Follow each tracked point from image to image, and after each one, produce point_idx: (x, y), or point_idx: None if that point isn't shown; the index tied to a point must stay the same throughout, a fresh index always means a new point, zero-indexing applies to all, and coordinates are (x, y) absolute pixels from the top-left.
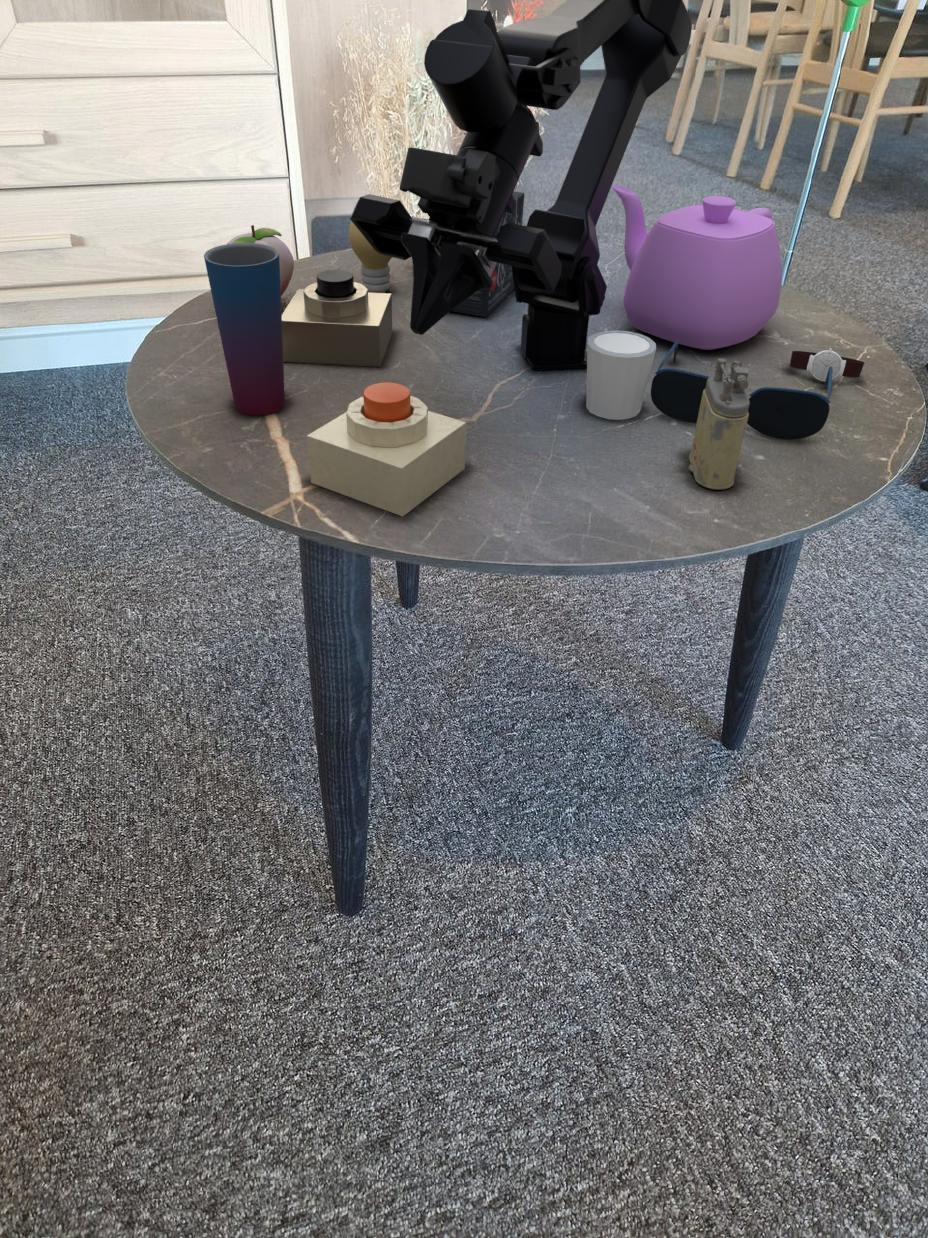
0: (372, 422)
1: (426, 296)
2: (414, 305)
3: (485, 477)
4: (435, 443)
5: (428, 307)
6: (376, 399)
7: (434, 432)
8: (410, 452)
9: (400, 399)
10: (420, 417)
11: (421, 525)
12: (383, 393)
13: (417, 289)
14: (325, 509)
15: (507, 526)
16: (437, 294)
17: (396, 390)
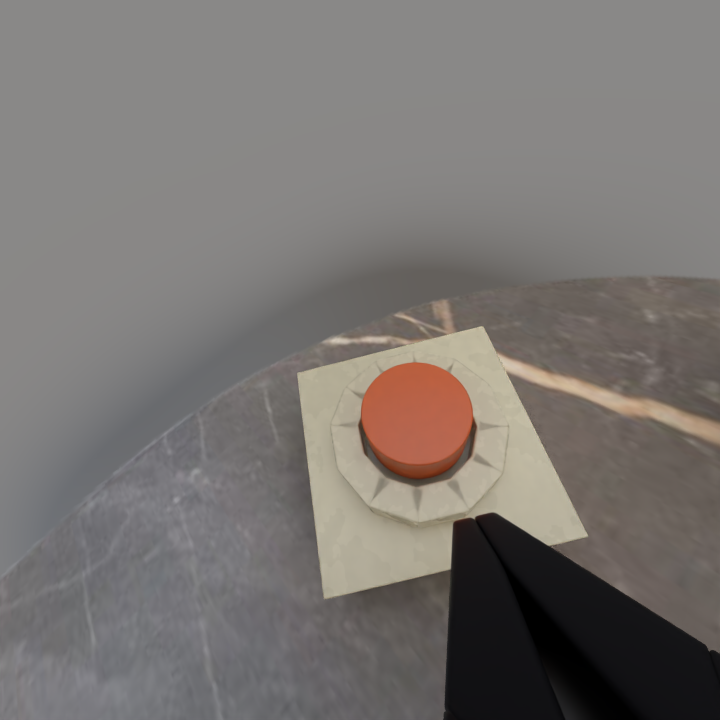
0: None
1: (527, 641)
2: (557, 569)
3: (299, 598)
4: (309, 468)
5: (461, 597)
6: (399, 371)
7: (341, 500)
8: (320, 413)
9: (365, 410)
10: (340, 454)
11: (288, 414)
12: (415, 400)
13: (652, 651)
14: None
15: (194, 500)
16: (454, 698)
17: (407, 431)
